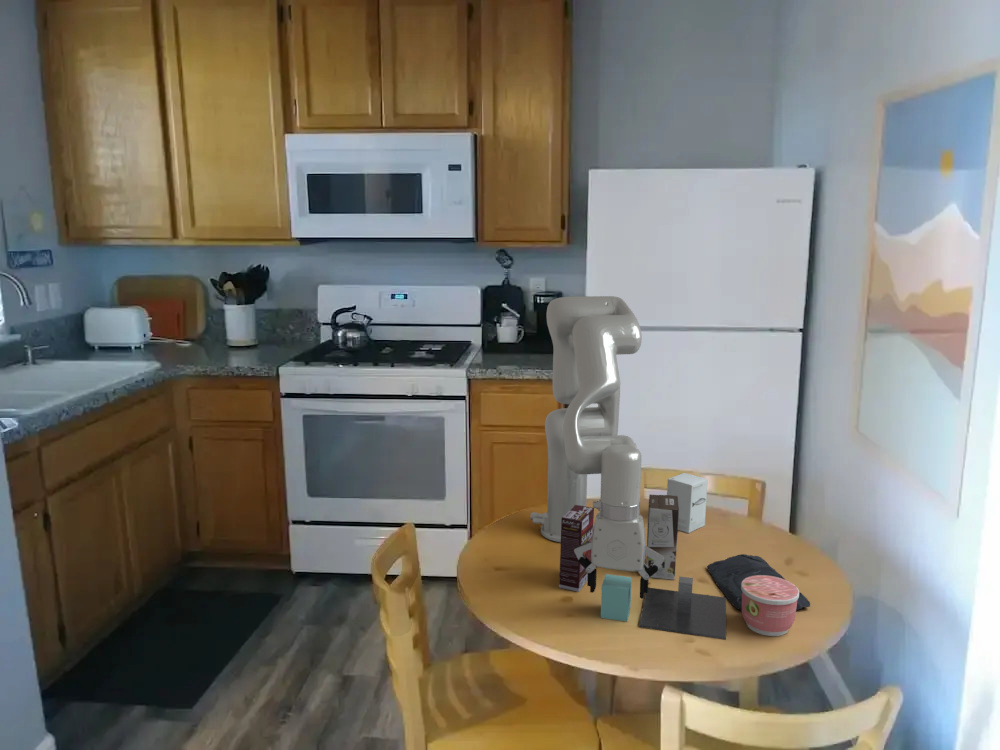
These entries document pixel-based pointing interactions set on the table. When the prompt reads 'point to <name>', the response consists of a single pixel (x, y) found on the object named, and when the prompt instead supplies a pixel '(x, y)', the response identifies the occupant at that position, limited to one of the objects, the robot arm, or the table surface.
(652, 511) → the coffee box
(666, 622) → the brushed steel sheet
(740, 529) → the table surface
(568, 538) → the supplement box
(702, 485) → the supplement box
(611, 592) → the teal rectangular block
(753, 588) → the container
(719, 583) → the dark fabric pouch
